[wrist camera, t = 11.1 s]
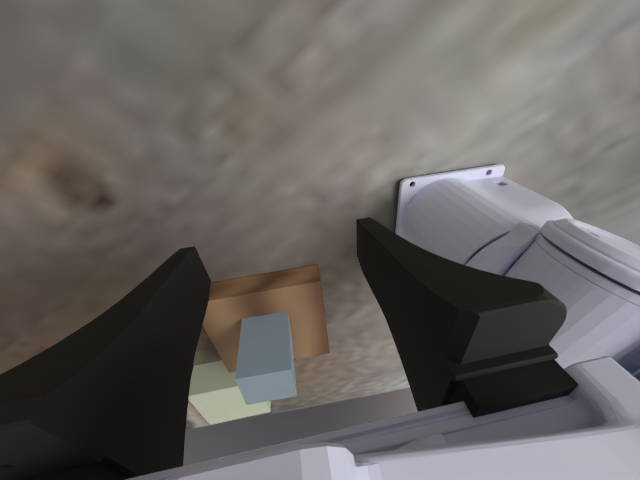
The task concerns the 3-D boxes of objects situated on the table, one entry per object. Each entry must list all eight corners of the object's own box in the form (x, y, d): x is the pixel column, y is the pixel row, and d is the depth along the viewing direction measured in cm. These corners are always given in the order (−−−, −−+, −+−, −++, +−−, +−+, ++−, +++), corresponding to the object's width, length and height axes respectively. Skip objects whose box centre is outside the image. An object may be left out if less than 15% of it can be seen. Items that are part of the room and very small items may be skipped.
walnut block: (316, 261, 27) (320, 281, 24) (325, 331, 33) (329, 352, 31) (198, 281, 26) (190, 304, 23) (232, 349, 33) (229, 372, 30)
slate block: (287, 311, 26) (291, 369, 21) (292, 338, 28) (296, 395, 23) (242, 318, 25) (234, 379, 20) (250, 345, 28) (246, 405, 23)
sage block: (257, 351, 33) (256, 382, 30) (270, 381, 38) (270, 411, 34) (194, 363, 33) (186, 396, 29) (215, 393, 37) (210, 424, 34)
